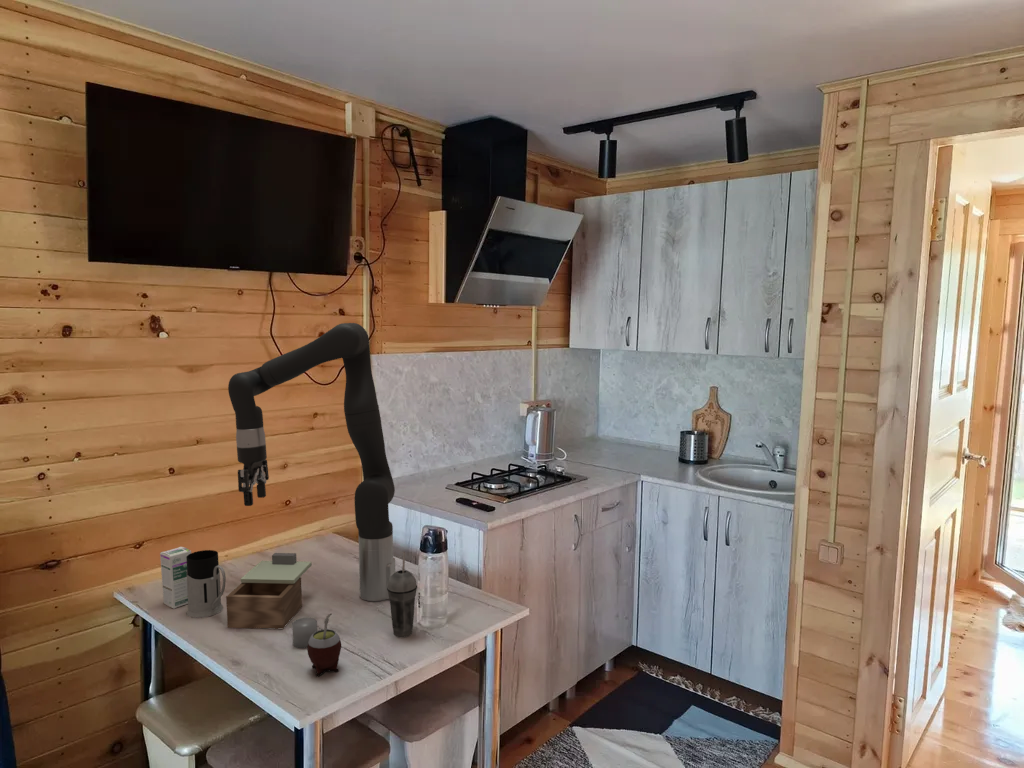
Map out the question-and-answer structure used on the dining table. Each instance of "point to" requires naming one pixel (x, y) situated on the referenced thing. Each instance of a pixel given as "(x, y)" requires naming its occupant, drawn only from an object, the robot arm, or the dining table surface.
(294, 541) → the dining table surface
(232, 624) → the storage box
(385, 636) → the dining table surface
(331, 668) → the mate gourd
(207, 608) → the glass holder
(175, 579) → the syrup box
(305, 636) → the grey rounded cylinder
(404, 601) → the beverage cup
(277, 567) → the lid
